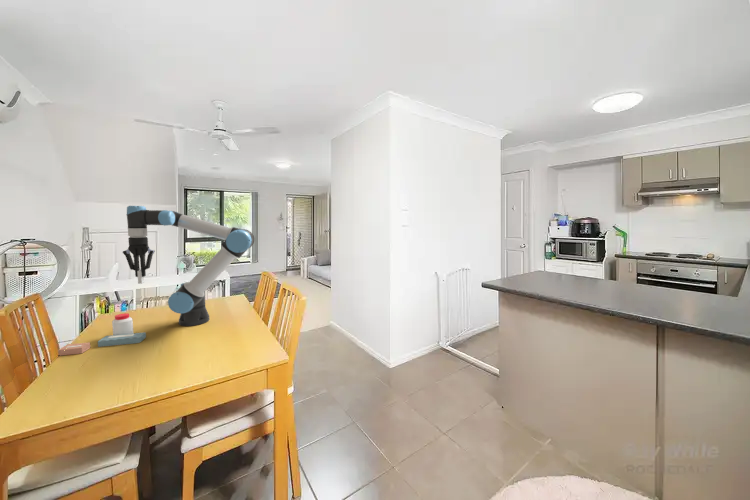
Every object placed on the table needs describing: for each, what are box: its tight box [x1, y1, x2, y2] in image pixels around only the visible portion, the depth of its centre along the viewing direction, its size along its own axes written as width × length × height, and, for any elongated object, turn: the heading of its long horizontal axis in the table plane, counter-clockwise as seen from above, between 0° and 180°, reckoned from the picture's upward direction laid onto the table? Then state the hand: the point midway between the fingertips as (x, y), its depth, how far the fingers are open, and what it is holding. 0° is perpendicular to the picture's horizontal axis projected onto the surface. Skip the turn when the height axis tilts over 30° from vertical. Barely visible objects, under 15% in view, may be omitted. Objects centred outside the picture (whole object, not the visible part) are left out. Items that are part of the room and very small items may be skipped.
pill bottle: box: [111, 312, 134, 335], centre depth 147 cm, size 8×8×11 cm
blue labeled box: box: [97, 331, 147, 348], centre depth 140 cm, size 16×7×3 cm, turn 109°
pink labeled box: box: [57, 342, 91, 356], centre depth 129 cm, size 8×6×3 cm
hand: (141, 282), depth 149 cm, fingers closed
